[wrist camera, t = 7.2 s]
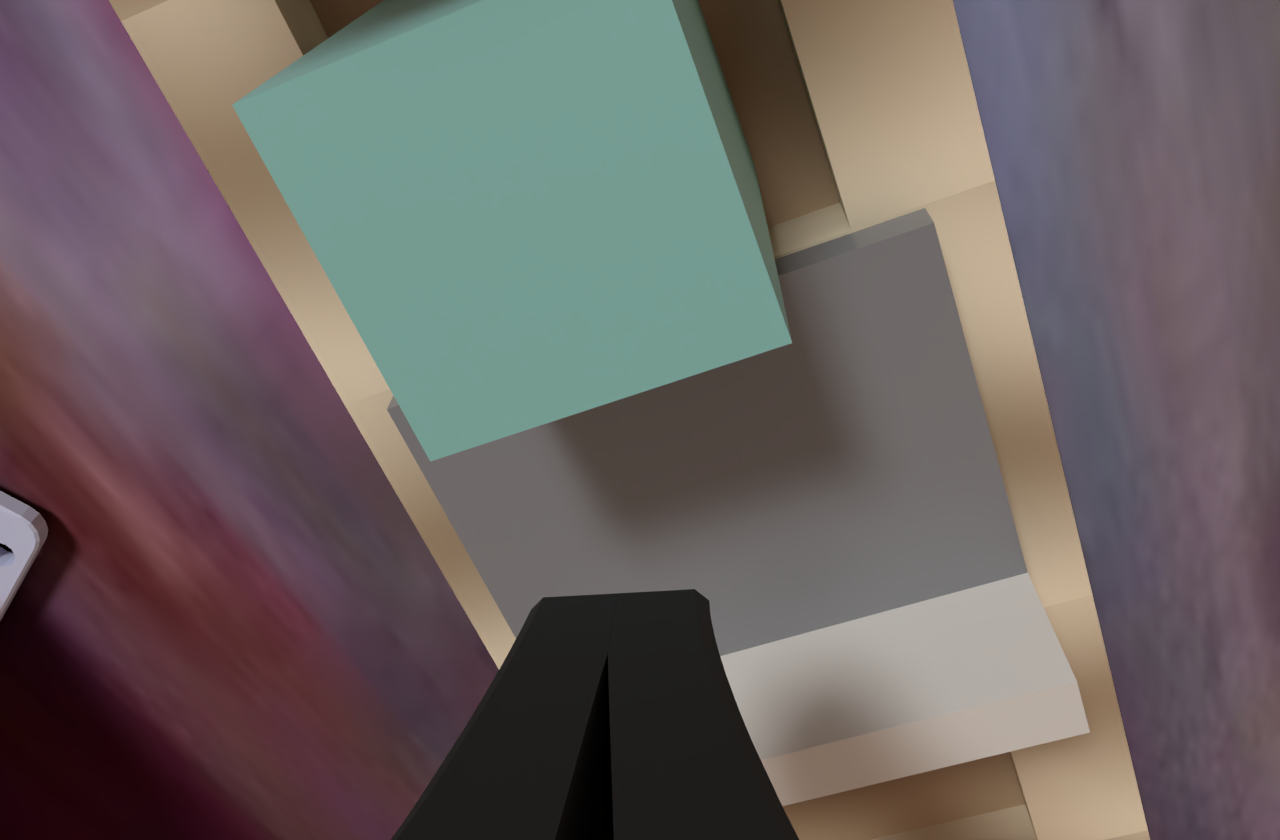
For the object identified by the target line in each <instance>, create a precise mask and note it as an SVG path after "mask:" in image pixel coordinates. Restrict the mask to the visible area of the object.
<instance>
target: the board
mask: <svg viewBox="0 0 1280 840" xmlns="http://www.w3.org/2000/svg"><path fill="white" fill-rule="evenodd" d="M382 1H383V0H109V2H110V3H111V5H112V7H113V8H114V10H115V12H116V14H117V15H118V17H119V19H120V20H121V22H122V24H123V26H124V27H125V29H126V31H127V32H128V34H129V36H130V38H131V39H132V41H133V43H134V44H135V46H136V48H137V50H138V51H139V53H140V55H141V56H142V58H143V60H144V62H145V63H146V65H147V67H148V68H149V70H150V72H151V74H152V75H153V77H154V79H155V80H156V82H157V84H158V86H159V87H160V89H161V91H162V92H163V94H164V96H165V98H166V99H167V101H168V103H169V104H170V106H171V108H172V110H173V111H174V113H175V115H176V116H177V118H178V120H179V122H180V123H181V125H182V127H183V128H184V130H185V132H186V134H187V135H188V137H189V139H190V140H191V142H192V144H193V146H194V147H195V149H196V151H197V152H198V154H199V156H200V158H201V159H202V161H203V163H204V164H205V166H206V168H207V170H208V171H209V173H210V175H211V176H212V178H213V180H214V182H215V183H216V185H217V187H218V188H219V190H220V192H221V194H222V195H223V197H224V199H225V200H226V202H227V204H228V206H229V207H230V209H231V211H232V212H233V214H234V216H235V218H236V219H237V221H238V223H239V224H240V226H241V228H242V230H243V231H244V233H245V235H246V236H247V238H248V240H249V242H250V243H251V245H252V247H253V248H254V250H255V252H256V254H257V255H258V257H259V259H260V260H261V262H262V264H263V266H264V267H265V269H266V271H267V273H268V274H269V276H270V278H271V279H272V281H273V283H274V285H275V286H276V288H277V290H278V291H279V293H280V295H281V297H282V298H283V300H284V302H285V303H286V305H287V307H288V309H289V310H290V312H291V314H292V315H293V317H294V319H295V321H296V322H297V324H298V326H299V327H300V329H301V331H302V333H303V334H304V336H305V338H306V339H307V341H308V343H309V345H310V346H311V348H312V350H313V351H314V353H315V355H316V357H317V358H318V360H319V362H320V363H321V365H322V367H323V369H324V370H325V372H326V374H327V375H328V377H329V379H330V381H331V382H332V384H333V386H334V387H335V389H336V391H337V393H338V394H339V396H340V398H341V399H342V401H343V403H344V405H345V406H346V408H347V410H348V411H349V413H350V415H351V417H352V418H353V420H354V422H355V423H356V425H357V427H358V429H359V430H360V432H361V434H362V435H363V437H364V439H365V441H366V442H367V444H368V446H369V447H370V449H371V451H372V453H373V454H374V456H375V458H376V459H377V461H378V463H379V465H380V466H381V468H382V470H383V471H384V473H385V475H386V477H387V478H388V480H389V482H390V483H391V485H392V487H393V489H394V490H395V492H396V494H397V495H398V497H399V499H400V501H401V502H402V504H403V506H404V507H405V509H406V511H407V513H408V514H409V516H410V518H411V519H412V521H413V523H414V525H415V526H416V528H417V530H418V531H419V533H420V535H421V537H422V538H423V540H424V542H425V543H426V545H427V547H428V549H429V550H430V552H431V554H432V555H433V557H434V559H435V561H436V562H437V564H438V566H439V567H440V569H441V571H442V573H443V574H444V576H445V578H446V579H447V581H448V583H449V585H450V586H451V588H452V590H453V591H454V593H455V595H456V597H457V598H458V600H459V602H460V603H461V605H462V607H463V609H464V610H465V612H466V614H467V616H468V617H469V619H470V621H471V622H472V624H473V626H474V628H475V629H476V631H477V633H478V634H479V636H480V638H481V640H482V641H483V643H484V645H485V646H486V648H487V650H488V652H489V653H490V655H491V657H492V658H493V660H494V662H495V664H496V665H497V667H498V669H500V667H501V666H502V664H503V662H504V660H505V658H506V657H507V655H508V653H509V651H510V649H511V647H512V645H513V644H514V642H515V640H516V638H515V636H514V634H513V633H512V631H511V629H510V627H509V625H508V624H507V622H506V620H505V618H504V617H503V615H502V613H501V611H500V609H499V608H498V606H497V604H496V602H495V601H494V599H493V597H492V595H491V594H490V592H489V590H488V588H487V586H486V585H485V583H484V581H483V579H482V578H481V576H480V574H479V572H478V570H477V569H476V567H475V565H474V563H473V562H472V560H471V558H470V556H469V554H468V553H467V551H466V549H465V547H464V546H463V544H462V542H461V540H460V538H459V537H458V535H457V533H456V531H455V530H454V528H453V526H452V524H451V523H450V521H449V519H448V517H447V515H446V514H445V512H444V510H443V508H442V507H441V505H440V503H439V501H438V499H437V498H436V496H435V494H434V492H433V491H432V489H431V487H430V485H429V483H428V482H427V480H426V478H425V476H424V475H423V473H422V471H421V469H420V468H419V466H418V464H417V462H416V460H415V459H414V457H413V455H412V453H411V452H410V450H409V448H408V446H407V444H406V443H405V441H404V439H403V437H402V436H401V434H400V432H399V430H398V428H397V427H396V425H395V423H394V421H393V420H392V418H391V416H390V414H389V413H388V411H387V408H388V406H389V404H390V402H391V399H392V397H393V394H392V392H391V390H390V388H389V386H388V385H387V383H386V381H385V379H384V377H383V376H382V374H381V372H380V370H379V368H378V367H377V365H376V363H375V361H374V360H373V358H372V356H371V354H370V352H369V351H368V349H367V347H366V345H365V343H364V342H363V340H362V338H361V336H360V334H359V333H358V331H357V329H356V327H355V325H354V324H353V322H352V320H351V318H350V316H349V315H348V313H347V311H346V309H345V307H344V306H343V304H342V302H341V300H340V298H339V297H338V295H337V293H336V291H335V289H334V288H333V286H332V284H331V282H330V280H329V279H328V277H327V275H326V273H325V271H324V270H323V268H322V266H321V264H320V262H319V261H318V259H317V257H316V255H315V253H314V252H313V250H312V248H311V246H310V244H309V243H308V241H307V239H306V237H305V235H304V234H303V232H302V230H301V228H300V226H299V225H298V223H297V221H296V219H295V218H294V216H293V214H292V212H291V210H290V209H289V207H288V205H287V203H286V201H285V200H284V198H283V196H282V194H281V192H280V191H279V189H278V187H277V185H276V183H275V182H274V180H273V178H272V176H271V174H270V173H269V171H268V169H267V167H266V165H265V164H264V162H263V160H262V158H261V156H260V155H259V153H258V151H257V149H256V147H255V146H254V144H253V142H252V140H251V138H250V137H249V135H248V133H247V131H246V129H245V128H244V126H243V124H242V122H241V120H240V119H239V117H238V115H237V113H236V111H235V110H234V108H233V106H232V104H234V103H235V102H237V101H238V100H240V99H241V98H243V97H244V96H245V95H247V94H248V93H250V92H251V91H253V90H254V89H256V88H257V87H258V86H260V85H261V84H263V83H264V82H266V81H267V80H269V79H270V78H272V77H273V76H274V75H276V74H277V73H279V72H280V71H282V70H283V69H285V68H286V67H287V66H289V65H290V64H292V63H293V62H295V61H296V60H298V59H299V58H301V57H302V56H303V55H305V54H306V53H308V52H309V51H311V50H312V49H314V48H315V47H316V46H318V45H319V44H321V43H322V42H324V41H325V40H327V39H328V38H329V37H331V36H332V35H334V34H335V33H337V32H338V31H340V30H341V29H343V28H344V27H345V26H347V25H348V24H350V23H351V22H353V21H354V20H356V19H357V18H358V17H360V16H361V15H363V14H364V13H366V12H367V11H369V10H370V9H371V8H373V7H374V6H376V5H377V4H379V3H380V2H382ZM698 1H699V4H700V6H701V9H702V12H703V15H704V18H705V21H706V24H707V27H708V30H709V33H710V36H711V39H712V42H713V45H714V48H715V51H716V54H717V56H718V59H719V62H720V65H721V68H722V71H723V74H724V77H725V80H726V83H727V86H728V89H729V92H730V95H731V98H732V101H733V104H734V106H735V109H736V112H737V115H738V118H739V121H740V124H741V127H742V130H743V133H744V136H745V139H746V142H747V145H748V148H749V151H750V153H751V156H752V159H753V162H754V165H755V169H756V174H757V179H758V183H759V188H760V193H761V198H762V202H763V207H764V212H765V217H766V221H767V226H768V231H769V235H770V240H771V245H772V250H773V254H774V259H778V258H781V257H784V256H786V255H789V254H792V253H795V252H798V251H801V250H804V249H807V248H810V247H813V246H815V245H818V244H821V243H824V242H827V241H830V240H833V239H836V238H839V237H842V236H845V235H847V234H850V233H853V232H856V231H859V230H862V229H865V228H868V227H871V226H874V225H876V224H879V223H882V222H885V221H888V220H891V219H894V218H897V217H900V216H903V215H905V214H908V213H911V212H914V211H917V210H920V209H923V208H925V209H926V210H927V212H928V213H929V215H930V217H931V218H932V220H933V222H934V224H935V228H936V232H937V235H938V239H939V243H940V247H941V250H942V254H943V258H944V262H945V265H946V269H947V273H948V276H949V280H950V284H951V288H952V291H953V295H954V299H955V303H956V306H957V310H958V314H959V318H960V321H961V325H962V329H963V333H964V336H965V340H966V344H967V348H968V351H969V355H970V359H971V362H972V366H973V370H974V374H975V377H976V381H977V385H978V389H979V392H980V396H981V400H982V404H983V407H984V411H985V415H986V419H987V422H988V426H989V430H990V433H991V437H992V441H993V445H994V448H995V452H996V456H997V460H998V463H999V467H1000V471H1001V475H1002V478H1003V482H1004V486H1005V490H1006V493H1007V497H1008V501H1009V505H1010V508H1011V512H1012V516H1013V519H1014V523H1015V527H1016V531H1017V534H1018V538H1019V542H1020V546H1021V549H1022V553H1023V557H1024V561H1025V564H1026V568H1027V572H1028V574H1029V577H1030V579H1031V581H1032V583H1033V585H1034V588H1035V590H1036V592H1037V594H1038V596H1039V599H1040V601H1041V603H1042V605H1043V607H1044V610H1045V612H1046V614H1047V616H1048V619H1049V621H1050V623H1051V625H1052V627H1053V630H1054V632H1055V634H1056V636H1057V638H1058V641H1059V643H1060V645H1061V647H1062V649H1063V652H1064V654H1065V656H1066V658H1067V660H1068V663H1069V665H1070V667H1071V669H1072V672H1073V674H1074V676H1075V678H1076V680H1077V683H1078V687H1079V691H1080V695H1081V699H1082V703H1083V707H1084V711H1085V715H1086V719H1087V723H1088V726H1089V730H1090V733H1086V734H1081V735H1077V736H1073V737H1069V738H1065V739H1061V740H1056V741H1052V742H1048V743H1044V744H1040V745H1036V746H1031V747H1027V748H1023V749H1019V750H1015V751H1011V752H1006V753H1002V754H998V755H994V756H990V757H986V758H981V759H977V760H973V761H969V762H965V763H961V764H956V765H952V766H948V767H944V768H940V769H936V770H931V771H927V772H923V773H919V774H915V775H911V776H906V777H902V778H898V779H894V780H890V781H886V782H882V783H877V784H873V785H869V786H865V787H861V788H857V789H852V790H848V791H844V792H840V793H836V794H832V795H827V796H823V797H819V798H815V799H811V800H807V801H802V802H798V803H794V804H790V805H786V806H782V807H783V809H784V811H785V813H786V815H787V816H788V818H789V820H790V822H791V824H792V826H793V828H794V830H795V832H796V834H797V836H798V838H799V840H1150V837H1149V833H1148V829H1147V824H1146V820H1145V816H1144V812H1143V807H1142V803H1141V799H1140V795H1139V790H1138V786H1137V782H1136V778H1135V773H1134V769H1133V765H1132V761H1131V756H1130V752H1129V748H1128V744H1127V740H1126V735H1125V731H1124V727H1123V723H1122V718H1121V714H1120V710H1119V706H1118V701H1117V697H1116V693H1115V689H1114V684H1113V680H1112V676H1111V672H1110V667H1109V663H1108V659H1107V655H1106V650H1105V646H1104V642H1103V638H1102V633H1101V629H1100V625H1099V621H1098V616H1097V612H1096V608H1095V604H1094V599H1093V595H1092V591H1091V587H1090V582H1089V578H1088V574H1087V570H1086V565H1085V561H1084V557H1083V553H1082V548H1081V544H1080V540H1079V536H1078V531H1077V527H1076V523H1075V519H1074V514H1073V510H1072V506H1071V502H1070V497H1069V493H1068V489H1067V485H1066V480H1065V476H1064V472H1063V468H1062V463H1061V459H1060V455H1059V451H1058V446H1057V442H1056V438H1055V434H1054V429H1053V425H1052V421H1051V417H1050V412H1049V408H1048V404H1047V400H1046V395H1045V391H1044V387H1043V383H1042V378H1041V374H1040V370H1039V366H1038V361H1037V357H1036V353H1035V349H1034V345H1033V340H1032V336H1031V332H1030V328H1029V323H1028V319H1027V315H1026V311H1025V306H1024V302H1023V298H1022V294H1021V289H1020V285H1019V281H1018V277H1017V272H1016V268H1015V264H1014V260H1013V255H1012V251H1011V247H1010V243H1009V238H1008V234H1007V230H1006V226H1005V221H1004V217H1003V213H1002V209H1001V204H1000V200H999V196H998V192H997V187H996V183H995V179H994V175H993V170H992V166H991V162H990V158H989V153H988V149H987V145H986V141H985V136H984V132H983V128H982V124H981V119H980V115H979V111H978V107H977V102H976V98H975V94H974V90H973V85H972V81H971V77H970V73H969V68H968V64H967V60H966V56H965V51H964V47H963V43H962V39H961V34H960V30H959V26H958V22H957V17H956V13H955V9H954V5H953V0H698Z"/></svg>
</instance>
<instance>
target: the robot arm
mask: <svg viewBox="0 0 1280 840" xmlns="http://www.w3.org/2000/svg"><path fill="white" fill-rule="evenodd" d="M47 534H48V527H47V524H46V521H45V520H44V518H43V517H42V516H41V514H40V513H39V512H37V511H36V510H34V509H33V508H32V507H30V506H28V505H27V504H25V503H23V502H21V501H19V500H17V499H15V498H13V497H11V496H9V495H7V494H6V493H4V492H2V491H0V543H1V544H5V545H6V546H7V547H9V548H10V549H11V550H12V551H13V553H11V552H8V551H6V550H4V549H3V548H2V547H1V546H0V621H1V619H2V618H3V616H4V614H5V612H6V610H7V609H8V607H9V605H10V603H11V601H12V600H13V598H14V596H15V594H16V592H17V591H18V589H19V587H20V585H21V584H22V582H23V580H24V578H25V576H26V575H27V573H28V571H29V569H30V567H31V566H32V564H33V562H34V560H35V558H36V557H37V555H38V553H39V551H40V549H41V548H42V546H43V544H44V542H45V540H46V539H47ZM391 840H799V838H798V836H797V834H796V832H795V830H794V828H793V826H792V824H791V822H790V820H789V818H788V816H787V815H786V813H785V811H784V809H783V807H782V804H781V802H780V800H779V798H778V796H777V794H776V792H775V789H774V787H773V785H772V783H771V781H770V779H769V777H768V774H767V772H766V770H765V768H764V766H763V764H762V761H761V759H760V757H759V755H758V753H757V751H756V749H755V746H754V744H753V742H752V740H751V738H750V735H749V733H748V730H747V728H746V726H745V723H744V721H743V718H742V716H741V713H740V711H739V708H738V706H737V703H736V700H735V698H734V695H733V692H732V689H731V687H730V684H729V681H728V678H727V676H726V673H725V670H724V667H723V663H722V660H721V657H720V654H719V650H718V647H717V643H716V639H715V635H714V630H713V626H712V621H711V615H710V604H709V600H708V599H707V598H705V597H704V596H703V595H702V594H700V593H699V592H698V591H696V590H695V589H687V590H669V591H651V592H633V593H614V594H596V595H578V596H560V597H543V598H542V599H541V600H540V601H539V602H538V603H537V604H536V605H535V606H534V607H533V608H532V609H531V611H530V613H529V615H528V617H527V619H526V621H525V623H524V625H523V627H522V629H521V630H520V632H519V634H518V636H517V638H516V640H515V642H514V644H513V645H512V647H511V649H510V651H509V653H508V655H507V657H506V658H505V660H504V662H503V664H502V666H501V667H500V669H499V671H498V673H497V674H496V676H495V678H494V680H493V681H492V683H491V685H490V687H489V688H488V690H487V692H486V693H485V695H484V697H483V698H482V700H481V702H480V703H479V705H478V707H477V709H476V710H475V712H474V714H473V715H472V717H471V719H470V720H469V722H468V724H467V725H466V727H465V728H464V730H463V732H462V733H461V735H460V736H459V738H458V739H457V741H456V743H455V744H454V746H453V747H452V749H451V750H450V752H449V753H448V755H447V757H446V758H445V760H444V761H443V763H442V764H441V766H440V767H439V769H438V771H437V772H436V774H435V775H434V777H433V778H432V780H431V781H430V783H429V785H428V786H427V788H426V789H425V791H424V792H423V794H422V796H421V797H420V799H419V800H418V802H417V803H416V805H415V806H414V808H413V809H412V810H411V812H410V813H409V815H408V816H407V818H406V819H405V821H404V822H403V824H402V825H401V826H400V828H399V829H398V830H397V832H396V833H395V835H394V836H393V837H392V839H391Z"/></svg>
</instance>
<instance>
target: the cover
mask: <svg viewBox="0 0 1280 840" xmlns="http://www.w3.org/2000/svg"><path fill="white" fill-rule="evenodd" d="M775 264H776V268H777V273H778V278H779V283H780V287H781V292H782V297H783V302H784V306H785V311H786V316H787V320H788V325H789V330H790V335H791V339H792V343H791V344H788V345H785V346H782V347H779V348H776V349H772V350H769V351H766V352H763V353H760V354H757V355H754V356H751V357H748V358H745V359H742V360H739V361H736V362H733V363H730V364H727V365H724V366H721V367H718V368H714V369H711V370H708V371H705V372H702V373H699V374H696V375H693V376H690V377H687V378H684V379H681V380H678V381H675V382H672V383H669V384H666V385H663V386H659V387H656V388H653V389H650V390H647V391H644V392H641V393H638V394H635V395H632V396H629V397H626V398H623V399H620V400H617V401H614V402H611V403H608V404H605V405H601V406H598V407H595V408H592V409H589V410H586V411H583V412H580V413H577V414H574V415H571V416H568V417H565V418H562V419H559V420H556V421H553V422H550V423H546V424H543V425H540V426H537V427H534V428H531V429H528V430H525V431H522V432H519V433H516V434H513V435H510V436H507V437H504V438H501V439H498V440H495V441H492V442H488V443H485V444H482V445H479V446H476V447H473V448H470V449H467V450H464V451H461V452H458V453H455V454H452V455H449V456H446V457H443V458H440V459H437V460H433V461H430V460H429V458H428V457H427V455H426V453H425V451H424V449H423V448H422V446H421V444H420V442H419V440H418V439H417V437H416V435H415V433H414V431H413V430H412V428H411V426H410V424H409V422H408V421H407V419H406V417H405V415H404V413H403V412H402V410H401V408H400V406H399V404H398V403H397V401H396V399H395V397H394V395H393V397H392V399H391V402H390V404H389V406H388V408H387V411H388V413H389V414H390V416H391V418H392V420H393V421H394V423H395V425H396V427H397V428H398V430H399V432H400V434H401V436H402V437H403V439H404V441H405V443H406V444H407V446H408V448H409V450H410V452H411V453H412V455H413V457H414V459H415V460H416V462H417V464H418V466H419V468H420V469H421V471H422V473H423V475H424V476H425V478H426V480H427V482H428V483H429V485H430V487H431V489H432V491H433V492H434V494H435V496H436V498H437V499H438V501H439V503H440V505H441V507H442V508H443V510H444V512H445V514H446V515H447V517H448V519H449V521H450V523H451V524H452V526H453V528H454V530H455V531H456V533H457V535H458V537H459V538H460V540H461V542H462V544H463V546H464V547H465V549H466V551H467V553H468V554H469V556H470V558H471V560H472V562H473V563H474V565H475V567H476V569H477V570H478V572H479V574H480V576H481V578H482V579H483V581H484V583H485V585H486V586H487V588H488V590H489V592H490V594H491V595H492V597H493V599H494V601H495V602H496V604H497V606H498V608H499V609H500V611H501V613H502V615H503V617H504V618H505V620H506V622H507V624H508V625H509V627H510V629H511V631H512V633H513V634H514V636H515V638H517V636H518V634H519V632H520V630H521V629H522V627H523V625H524V623H525V621H526V619H527V617H528V615H529V613H530V611H531V609H532V608H533V607H534V606H535V605H536V604H537V603H538V602H539V601H540V600H541V599H542V598H543V597H560V596H578V595H596V594H614V593H633V592H651V591H669V590H687V589H695V590H696V591H698V592H699V593H700V594H702V595H703V596H704V597H705V598H707V599H708V600H709V604H710V615H711V621H712V626H713V630H714V635H715V639H716V643H717V647H718V650H719V654H720V657H721V660H722V663H723V667H724V670H725V673H726V676H727V678H728V681H729V684H730V687H731V689H732V692H733V695H734V698H735V700H736V703H737V706H738V708H739V711H740V713H741V716H742V718H743V721H744V723H745V726H746V728H747V730H748V733H749V735H750V738H751V740H752V742H753V744H754V746H755V749H756V751H757V753H758V755H759V757H760V759H761V761H762V764H763V766H764V768H765V770H766V772H767V774H768V777H769V779H770V781H771V783H772V785H773V787H774V789H775V792H776V794H777V796H778V798H779V800H780V802H781V804H782V806H786V805H790V804H794V803H798V802H802V801H807V800H811V799H815V798H819V797H823V796H827V795H832V794H836V793H840V792H844V791H848V790H852V789H857V788H861V787H865V786H869V785H873V784H877V783H882V782H886V781H890V780H894V779H898V778H902V777H906V776H911V775H915V774H919V773H923V772H927V771H931V770H936V769H940V768H944V767H948V766H952V765H956V764H961V763H965V762H969V761H973V760H977V759H981V758H986V757H990V756H994V755H998V754H1002V753H1006V752H1011V751H1015V750H1019V749H1023V748H1027V747H1031V746H1036V745H1040V744H1044V743H1048V742H1052V741H1056V740H1061V739H1065V738H1069V737H1073V736H1077V735H1081V734H1086V733H1090V730H1089V726H1088V723H1087V719H1086V715H1085V711H1084V707H1083V703H1082V699H1081V695H1080V691H1079V687H1078V683H1077V680H1076V678H1075V676H1074V674H1073V672H1072V669H1071V667H1070V665H1069V663H1068V660H1067V658H1066V656H1065V654H1064V652H1063V649H1062V647H1061V645H1060V643H1059V641H1058V638H1057V636H1056V634H1055V632H1054V630H1053V627H1052V625H1051V623H1050V621H1049V619H1048V616H1047V614H1046V612H1045V610H1044V607H1043V605H1042V603H1041V601H1040V599H1039V596H1038V594H1037V592H1036V590H1035V588H1034V585H1033V583H1032V581H1031V579H1030V577H1029V574H1028V572H1027V568H1026V564H1025V561H1024V557H1023V553H1022V549H1021V546H1020V542H1019V538H1018V534H1017V531H1016V527H1015V523H1014V519H1013V516H1012V512H1011V508H1010V505H1009V501H1008V497H1007V493H1006V490H1005V486H1004V482H1003V478H1002V475H1001V471H1000V467H999V463H998V460H997V456H996V452H995V448H994V445H993V441H992V437H991V433H990V430H989V426H988V422H987V419H986V415H985V411H984V407H983V404H982V400H981V396H980V392H979V389H978V385H977V381H976V377H975V374H974V370H973V366H972V362H971V359H970V355H969V351H968V348H967V344H966V340H965V336H964V333H963V329H962V325H961V321H960V318H959V314H958V310H957V306H956V303H955V299H954V295H953V291H952V288H951V284H950V280H949V276H948V273H947V269H946V265H945V262H944V258H943V254H942V250H941V247H940V243H939V239H938V235H937V232H936V228H935V224H934V222H933V220H932V218H931V217H930V215H929V213H928V212H927V210H926V209H925V208H923V209H920V210H917V211H914V212H911V213H908V214H905V215H903V216H900V217H897V218H894V219H891V220H888V221H885V222H882V223H879V224H876V225H874V226H871V227H868V228H865V229H862V230H859V231H856V232H853V233H850V234H847V235H845V236H842V237H839V238H836V239H833V240H830V241H827V242H824V243H821V244H818V245H815V246H813V247H810V248H807V249H804V250H801V251H798V252H795V253H792V254H789V255H786V256H784V257H781V258H778V259H775Z"/></svg>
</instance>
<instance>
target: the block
mask: <svg viewBox="0 0 1280 840" xmlns="http://www.w3.org/2000/svg"><path fill="white" fill-rule="evenodd" d="M232 106H233V108H234V110H235V111H236V113H237V115H238V117H239V119H240V120H241V122H242V124H243V126H244V128H245V129H246V131H247V133H248V135H249V137H250V138H251V140H252V142H253V144H254V146H255V147H256V149H257V151H258V153H259V155H260V156H261V158H262V160H263V162H264V164H265V165H266V167H267V169H268V171H269V173H270V174H271V176H272V178H273V180H274V182H275V183H276V185H277V187H278V189H279V191H280V192H281V194H282V196H283V198H284V200H285V201H286V203H287V205H288V207H289V209H290V210H291V212H292V214H293V216H294V218H295V219H296V221H297V223H298V225H299V226H300V228H301V230H302V232H303V234H304V235H305V237H306V239H307V241H308V243H309V244H310V246H311V248H312V250H313V252H314V253H315V255H316V257H317V259H318V261H319V262H320V264H321V266H322V268H323V270H324V271H325V273H326V275H327V277H328V279H329V280H330V282H331V284H332V286H333V288H334V289H335V291H336V293H337V295H338V297H339V298H340V300H341V302H342V304H343V306H344V307H345V309H346V311H347V313H348V315H349V316H350V318H351V320H352V322H353V324H354V325H355V327H356V329H357V331H358V333H359V334H360V336H361V338H362V340H363V342H364V343H365V345H366V347H367V349H368V351H369V352H370V354H371V356H372V358H373V360H374V361H375V363H376V365H377V367H378V368H379V370H380V372H381V374H382V376H383V377H384V379H385V381H386V383H387V385H388V386H389V388H390V390H391V392H392V394H393V395H394V397H395V399H396V401H397V403H398V404H399V406H400V408H401V410H402V412H403V413H404V415H405V417H406V419H407V421H408V422H409V424H410V426H411V428H412V430H413V431H414V433H415V435H416V437H417V439H418V440H419V442H420V444H421V446H422V448H423V449H424V451H425V453H426V455H427V457H428V458H429V460H430V461H433V460H437V459H440V458H443V457H446V456H449V455H452V454H455V453H458V452H461V451H464V450H467V449H470V448H473V447H476V446H479V445H482V444H485V443H488V442H492V441H495V440H498V439H501V438H504V437H507V436H510V435H513V434H516V433H519V432H522V431H525V430H528V429H531V428H534V427H537V426H540V425H543V424H546V423H550V422H553V421H556V420H559V419H562V418H565V417H568V416H571V415H574V414H577V413H580V412H583V411H586V410H589V409H592V408H595V407H598V406H601V405H605V404H608V403H611V402H614V401H617V400H620V399H623V398H626V397H629V396H632V395H635V394H638V393H641V392H644V391H647V390H650V389H653V388H656V387H659V386H663V385H666V384H669V383H672V382H675V381H678V380H681V379H684V378H687V377H690V376H693V375H696V374H699V373H702V372H705V371H708V370H711V369H714V368H718V367H721V366H724V365H727V364H730V363H733V362H736V361H739V360H742V359H745V358H748V357H751V356H754V355H757V354H760V353H763V352H766V351H769V350H772V349H776V348H779V347H782V346H785V345H788V344H791V343H792V339H791V335H790V330H789V325H788V320H787V316H786V311H785V306H784V302H783V297H782V292H781V287H780V283H779V278H778V273H777V268H776V264H775V259H774V254H773V250H772V245H771V240H770V235H769V231H768V226H767V221H766V217H765V212H764V207H763V202H762V198H761V193H760V188H759V183H758V179H757V174H756V169H755V165H754V162H753V159H752V156H751V153H750V151H749V148H748V145H747V142H746V139H745V136H744V133H743V130H742V127H741V124H740V121H739V118H738V115H737V112H736V109H735V106H734V104H733V101H732V98H731V95H730V92H729V89H728V86H727V83H726V80H725V77H724V74H723V71H722V68H721V65H720V62H719V59H718V56H717V54H716V51H715V48H714V45H713V42H712V39H711V36H710V33H709V30H708V27H707V24H706V21H705V18H704V15H703V12H702V9H701V6H700V4H699V1H698V0H383V1H382V2H380V3H379V4H377V5H376V6H374V7H373V8H371V9H370V10H369V11H367V12H366V13H364V14H363V15H361V16H360V17H358V18H357V19H356V20H354V21H353V22H351V23H350V24H348V25H347V26H345V27H344V28H343V29H341V30H340V31H338V32H337V33H335V34H334V35H332V36H331V37H329V38H328V39H327V40H325V41H324V42H322V43H321V44H319V45H318V46H316V47H315V48H314V49H312V50H311V51H309V52H308V53H306V54H305V55H303V56H302V57H301V58H299V59H298V60H296V61H295V62H293V63H292V64H290V65H289V66H287V67H286V68H285V69H283V70H282V71H280V72H279V73H277V74H276V75H274V76H273V77H272V78H270V79H269V80H267V81H266V82H264V83H263V84H261V85H260V86H258V87H257V88H256V89H254V90H253V91H251V92H250V93H248V94H247V95H245V96H244V97H243V98H241V99H240V100H238V101H237V102H235V103H234V104H232Z"/></svg>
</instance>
